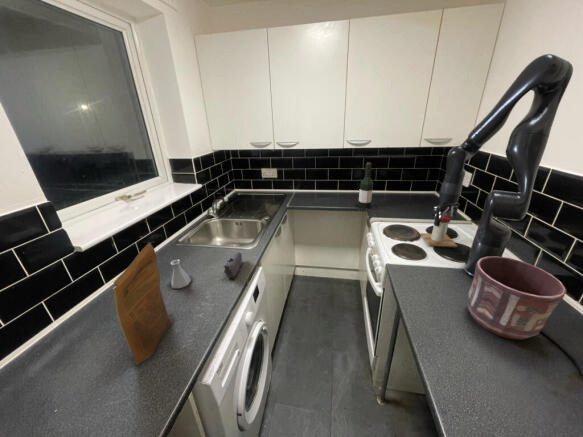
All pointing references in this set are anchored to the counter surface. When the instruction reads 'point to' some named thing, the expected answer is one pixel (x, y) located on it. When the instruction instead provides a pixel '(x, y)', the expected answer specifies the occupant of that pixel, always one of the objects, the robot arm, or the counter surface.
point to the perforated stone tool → (233, 265)
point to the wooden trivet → (445, 243)
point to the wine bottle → (366, 189)
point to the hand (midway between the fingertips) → (441, 224)
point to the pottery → (512, 297)
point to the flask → (179, 275)
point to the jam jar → (439, 232)
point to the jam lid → (445, 218)
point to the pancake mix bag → (141, 305)
